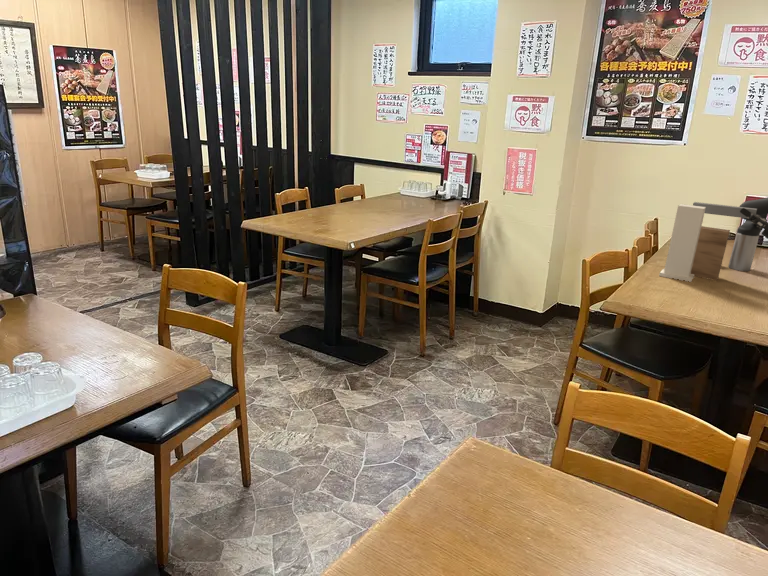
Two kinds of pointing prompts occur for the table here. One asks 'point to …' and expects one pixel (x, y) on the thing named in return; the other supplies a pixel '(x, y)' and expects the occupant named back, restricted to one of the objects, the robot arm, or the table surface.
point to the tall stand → (683, 242)
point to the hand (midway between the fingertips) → (741, 209)
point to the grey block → (724, 210)
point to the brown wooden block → (710, 252)
